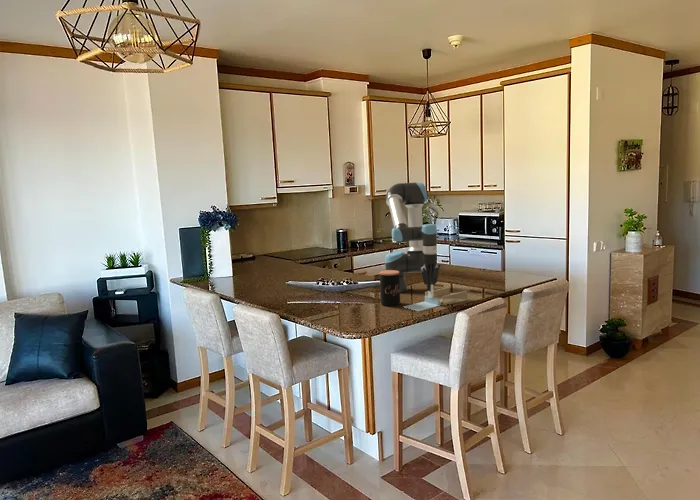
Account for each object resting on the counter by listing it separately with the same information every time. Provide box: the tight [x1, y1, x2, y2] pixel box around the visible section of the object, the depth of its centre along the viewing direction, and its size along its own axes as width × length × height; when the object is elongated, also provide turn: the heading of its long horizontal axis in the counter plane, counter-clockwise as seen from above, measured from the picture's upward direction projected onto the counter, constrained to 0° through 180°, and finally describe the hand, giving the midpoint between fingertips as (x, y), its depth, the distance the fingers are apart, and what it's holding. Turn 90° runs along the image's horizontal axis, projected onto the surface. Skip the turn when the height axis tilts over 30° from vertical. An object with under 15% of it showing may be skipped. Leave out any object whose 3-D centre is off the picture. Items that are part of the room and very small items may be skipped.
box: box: [424, 286, 468, 306], centre depth 295 cm, size 14×18×5 cm
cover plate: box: [402, 295, 441, 312], centre depth 284 cm, size 12×17×4 cm
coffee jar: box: [379, 270, 401, 307], centre depth 291 cm, size 11×11×18 cm
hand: (430, 296), depth 288 cm, fingers closed
